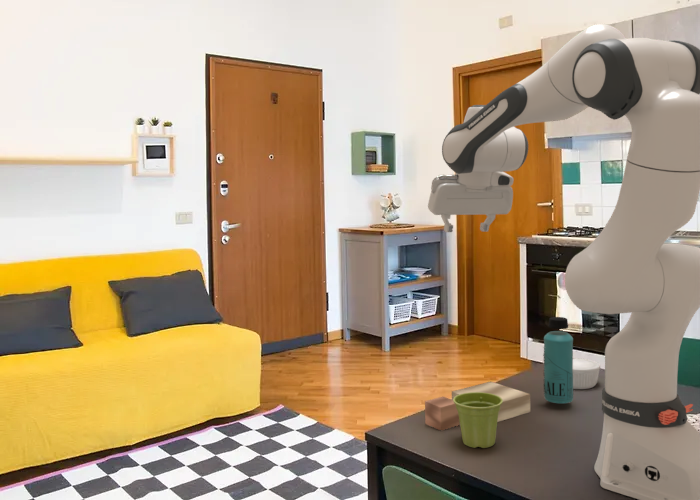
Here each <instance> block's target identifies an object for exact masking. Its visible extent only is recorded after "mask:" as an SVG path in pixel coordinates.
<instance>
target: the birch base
mask: <svg viewBox="0 0 700 500" xmlns="http://www.w3.org/2000/svg"><path fill="white" fill-rule="evenodd" d="M470 392H482V393H489V394H494V395H497V396H499V397H501V398H502V400H503V403H502V404H501V405H500V410H499V413H498V420H497V423H499V422H502V421H504V420H508V419H512V418H515V417H519V416H522V415H525V414H528V413H531V394H530V393H528V392H525V391H522V390H518V389H515V388H512V387H509V386H507V385H506V386H505V385H502V384H500V383H497V382H494V381H488V382H483V383H479V384H475V385H472V386H471V385H470V386H467V387H464V388H460V389H456V390H453V391H452V390H451V400H453V398H454V397H455V396H457V395H459V394H463V393H470Z"/></svg>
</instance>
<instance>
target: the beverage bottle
mask: <svg viewBox="0 0 700 500" xmlns="http://www.w3.org/2000/svg"><path fill="white" fill-rule="evenodd" d="M548 319H549V320H548V328H550V329H554V330H553V331H549V332H547V333H546V334H545V335H544V336H543V354H542V357H543V359H542V360H543V370H542V372H543V373H542V374H543V397H544V400H545V401H547V402H550V403H554V404H568V403H569V404H570V403H571V402H573V399H574V389H573V358H574V356H573V354H574V353H573V352H574V349H573V348H574V344H573V343H574V338H573V336H572V335H571V334H570V333H568V332H566V331H563V330H566V329H568V328H569V324H568V318H566V317H564V316H553V317H550V318H548ZM559 330H560V331H559Z"/></svg>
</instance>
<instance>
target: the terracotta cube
mask: <svg viewBox="0 0 700 500" xmlns="http://www.w3.org/2000/svg"><path fill="white" fill-rule="evenodd" d="M424 416H425V417H424V418H425V419H424V420H425V425H427V426H429V427H431V426H432V427H431V428H433V427H434V428H433V429H436V430H438V431H440V430H442V431H445V429H446V430H449V429H452V428H451V427H453V428H455V427H454V426H456V427H459V426H460V421H459V414H458V410H457V409H456V404H455V403H454V402H453V400H452V398H449V397H445V396H439V397H436V398H433V399H428V400H425V401H424ZM458 425H459V426H458ZM448 428H449V429H448Z"/></svg>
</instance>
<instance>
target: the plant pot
mask: <svg viewBox="0 0 700 500" xmlns="http://www.w3.org/2000/svg"><path fill="white" fill-rule="evenodd" d="M453 402H454V403H455V404H456V409H457V410H458V414H459V426H460V433H461V438H462V443H463V444H464V445H466V446H467V447H469V448H474V449H475V448H478V447H479V448H482V449H486V448H490V447H492V446H494V445H495V443H496V438H497V437H496V436H497V426H498V422H497V420H498V413H499V410H500V405H501V404H502V403H503V400H502V398H501V397H499V396H497V395H494V394H489V393H482V392H470V393H463V394H459V395H457V396H455V397H454V398H453Z"/></svg>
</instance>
